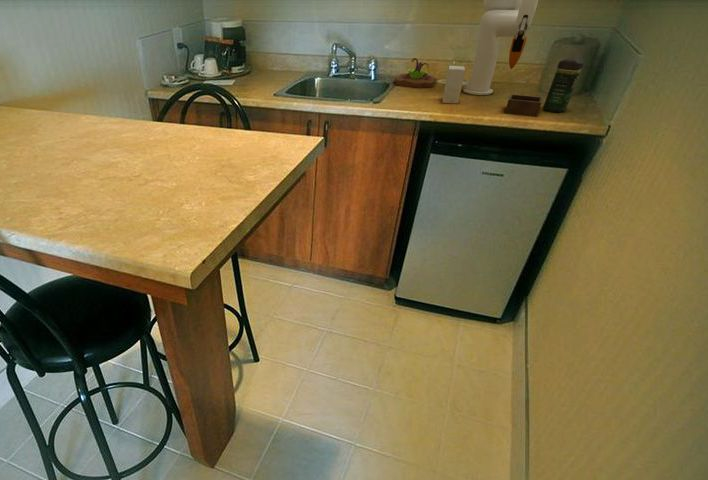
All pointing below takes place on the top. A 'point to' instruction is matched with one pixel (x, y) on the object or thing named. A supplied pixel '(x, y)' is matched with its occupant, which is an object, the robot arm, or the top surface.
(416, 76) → the plant
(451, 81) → the small box
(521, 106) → the pen box
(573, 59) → the coffee jar
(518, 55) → the carrot
